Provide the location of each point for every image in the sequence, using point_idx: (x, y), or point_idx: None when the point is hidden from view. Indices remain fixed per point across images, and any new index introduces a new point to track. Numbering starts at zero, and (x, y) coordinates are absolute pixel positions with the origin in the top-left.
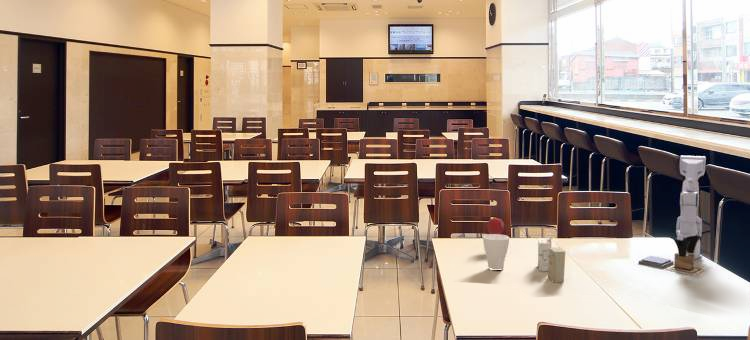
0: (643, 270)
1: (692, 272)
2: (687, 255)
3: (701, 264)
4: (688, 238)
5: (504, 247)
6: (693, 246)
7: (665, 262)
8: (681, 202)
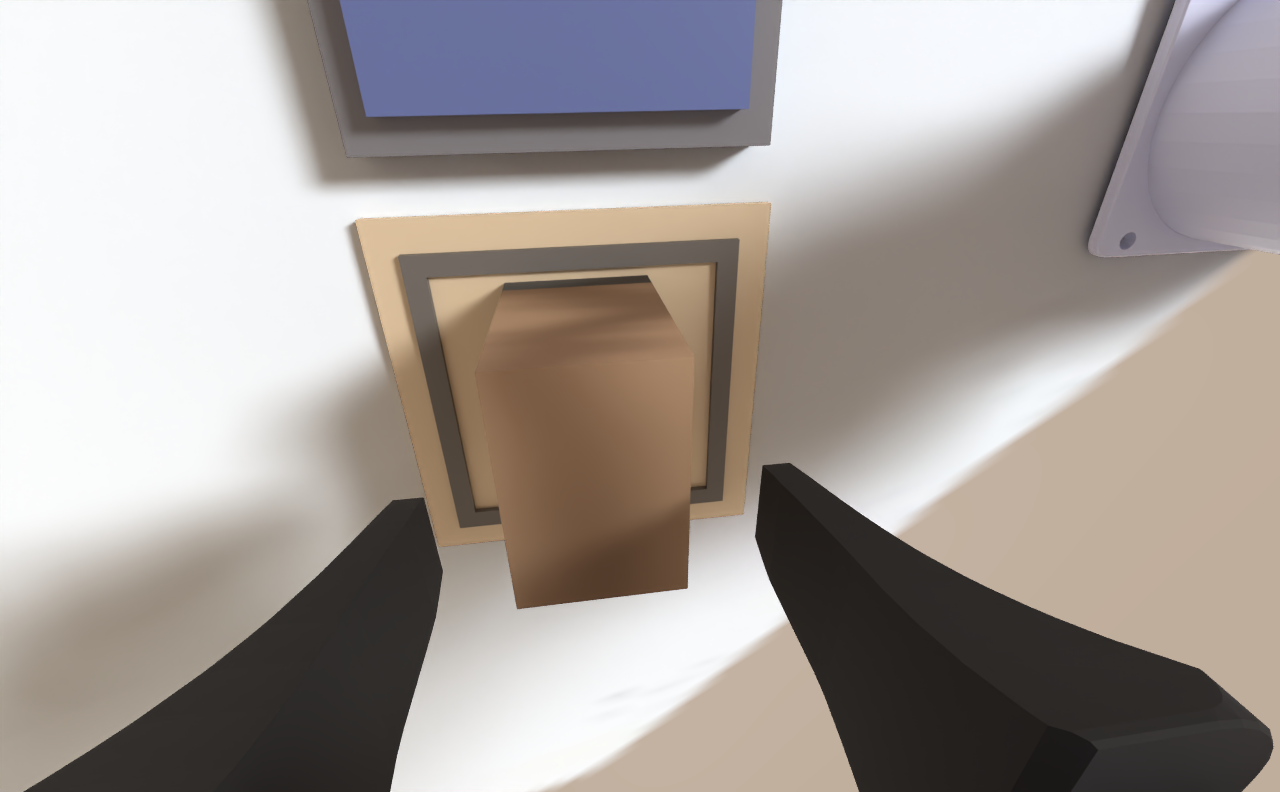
0: None
1: (485, 514)
2: (546, 559)
3: (943, 391)
4: (944, 749)
5: None
6: (814, 649)
7: (530, 114)
8: None
